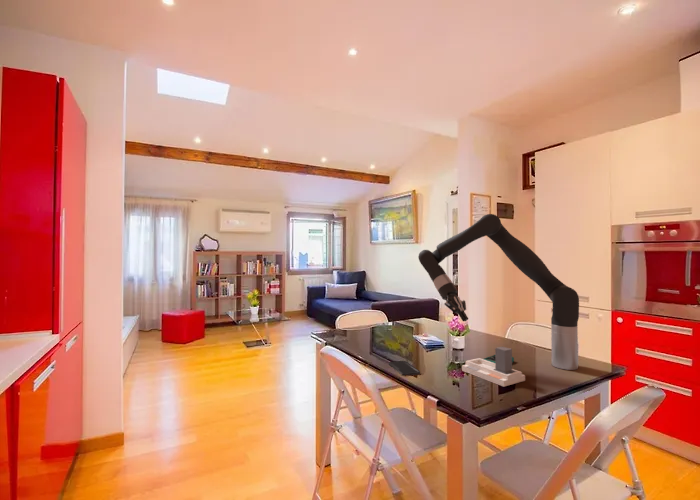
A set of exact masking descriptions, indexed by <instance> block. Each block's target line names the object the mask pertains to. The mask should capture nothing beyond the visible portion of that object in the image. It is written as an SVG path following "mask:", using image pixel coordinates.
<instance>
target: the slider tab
mask: <svg viewBox="0 0 700 500" xmlns="http://www.w3.org/2000/svg"><path fill="white" fill-rule="evenodd" d="M494 350H495V352H494V353H495V354H494V355H495V364H496V369H494V370H496V371H498V372H501V373H504V374H510V373H514V371H512V369H513V362H512V357H513V349H512V348H510V347H506V346H498V347H495V349H494Z"/></svg>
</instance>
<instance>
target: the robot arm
mask: <svg viewBox="0 0 700 500" xmlns="http://www.w3.org/2000/svg"><path fill="white" fill-rule="evenodd" d="M483 237H487V238H489V239H490V240H491V241H492V242H493V243H495V245H497V246H498V248H500V249H501V251H502V252H503V253H504V254H505V256H506V258H508V259H509V260H510V262H511V263H512V264H514V266H516V268H517V269H518V270H519V271H520V272H521V273H523V274H524V275H525V276H526V277H528V279H530V280H531V281H533V282H534V283H535V284H536V285H537V286H538V287H540V289H541V290H542V291H543V292H544V293H545V295H546V296H547V297H548V298H549V300H550V301H551V303H552V314H551V317H550V319H551V325H550V326H551V329H550V331H551V333H550V335H551V337H550V338H551V365H552V366H553V367H555V368H557V369H561V370H568V371H569V370H571V371H572V370H573V371H574V370H578V368H579V342H578V341H579V340H578V338H579V337H578V334H579V332H578V325H579V324H578V321H579V319H580V298H579V294H578V292H577V291H576V290H575V289H574V288H572V287H570V286H567V285H566V284H565V283H563V282H562V281H561V280H560V279H559V278H558V277H556V276H555V275H554V274H553V273H552V272H551V271H550V270H549V268H548V266H547V265H546V264H545V262H544V261H543V260H542V259H541V258H540V257H539V256H538V255H537V254H536V253H535V252H534V251H533V250H532V249H531V248H530V247H528V246H527V245H526V244H525V243H523V242H522V240H519V239H518V238H517V237H515V236H514V235H512V234H511V233H510V232H509V231H508V229H507V228H506V227H505V226H504V225H503V224H502V222H501V219H500V217H499V216H498V215H496V214H494V213H486V214H485V215H482V216H481V218H480V219H478V220H477V221H476V222H474V224H472V225H470V226H469V227H468V228H466V229H465V230H462V231H461V232H459V233H457V234H456V235H454V236H452V237H449V238H447V239H446V240H444V241H442V242H441V243H438V244H437V246H436V249H435V250H434V251H430V250H429V249H423V250H421V251H420V252H419V253H418V261H419V263H420V265H421V266H422V267H423V269H424V270H425V271H426V272H427V274H428V276H429V278H430V280H431V281H432V283H433V285H434V288H436V290H437V292H438V293H439V296H440V297H441V298H442V300H444V301H445V302H444V306H446V308H448V309H449V310H450V311H451V312H453V314H455V313H456V314H457V315H458V316H459V317H460V319H461V320H462V322H467V321H468V320H469V317H468V315H467V314H466V312H465V311H467V305H466V300H464V299H463V300H461V298H460V296H458V289H457V287H456V286H455V285H454V282H453V281H452V279H451V278H450V276H448V275H447V273H446V271H445V269H443V267H442V266H441V265H440V263H441V262H442V261H443V260H445V259H446V258H448V257H449V256H452V255H454V254H455V253H456V252H459V251H460V250H462V249H463V248H465V247H466V246H468V245H469V244H471V243H473V242H474V241H476V240H479V239H482V238H483Z"/></svg>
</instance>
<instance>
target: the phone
mask: <svg viewBox="0 0 700 500" xmlns="http://www.w3.org/2000/svg"><path fill="white" fill-rule="evenodd" d="M388 365H389V366H390V367H391V368H392V367H393V369H394V370H395V371H396V372H397V373H398V372H399V373H398V374H399V375H401V376H403V377H406V376H405V375H408V376H418V375H420V374H421V371H420V370H419V369H417V368H416V367H415V366H413V365H412V364H411V363H409V362H408V361H406V360H397V361H390V362H388Z"/></svg>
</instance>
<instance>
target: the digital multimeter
mask: <svg viewBox="0 0 700 500" xmlns="http://www.w3.org/2000/svg"><path fill="white" fill-rule="evenodd" d="M483 359H484V360H487V361H490V362H493V363H495V354H493V355H490V356H487V357H486V358H483ZM514 362H515V357H513V356H512V363H514Z"/></svg>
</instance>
